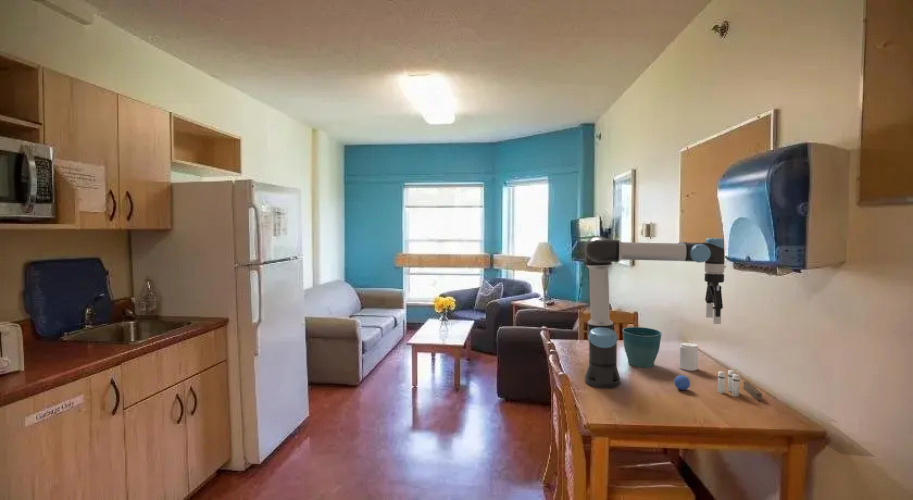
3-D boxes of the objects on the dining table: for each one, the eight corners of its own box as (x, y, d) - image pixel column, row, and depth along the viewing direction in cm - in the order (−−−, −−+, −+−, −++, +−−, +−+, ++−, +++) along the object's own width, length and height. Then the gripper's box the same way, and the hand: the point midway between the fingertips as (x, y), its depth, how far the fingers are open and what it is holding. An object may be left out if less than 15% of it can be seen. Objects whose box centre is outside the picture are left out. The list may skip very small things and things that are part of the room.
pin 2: (733, 396, 181) (733, 375, 181) (731, 394, 184) (731, 373, 183) (740, 396, 180) (740, 376, 180) (737, 394, 183) (738, 374, 182)
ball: (676, 391, 187) (676, 377, 186) (672, 386, 193) (672, 372, 192) (691, 392, 185) (692, 378, 185) (687, 387, 191) (688, 373, 191)
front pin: (718, 393, 185) (719, 373, 184) (716, 390, 187) (717, 371, 186) (725, 393, 184) (726, 373, 183) (723, 391, 186) (723, 371, 186)
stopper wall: (757, 400, 176) (757, 393, 176) (743, 388, 190) (743, 381, 190) (761, 401, 176) (762, 393, 176) (747, 388, 189) (747, 381, 189)
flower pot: (669, 367, 217) (670, 333, 217) (640, 372, 211) (641, 337, 210) (641, 357, 234) (642, 325, 233) (614, 361, 228) (614, 329, 227)
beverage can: (700, 371, 211) (700, 346, 210) (681, 370, 213) (682, 346, 212) (694, 366, 219) (695, 342, 218) (677, 365, 221) (677, 341, 220)
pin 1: (728, 391, 186) (729, 371, 185) (726, 389, 188) (727, 369, 188) (735, 392, 185) (736, 372, 185) (733, 390, 188) (733, 370, 187)
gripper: (732, 276, 184) (730, 327, 185) (716, 270, 207) (715, 315, 209) (711, 276, 186) (710, 326, 187) (698, 269, 210) (697, 314, 211)
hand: (713, 320), depth 198 cm, fingers open, 13 cm apart
